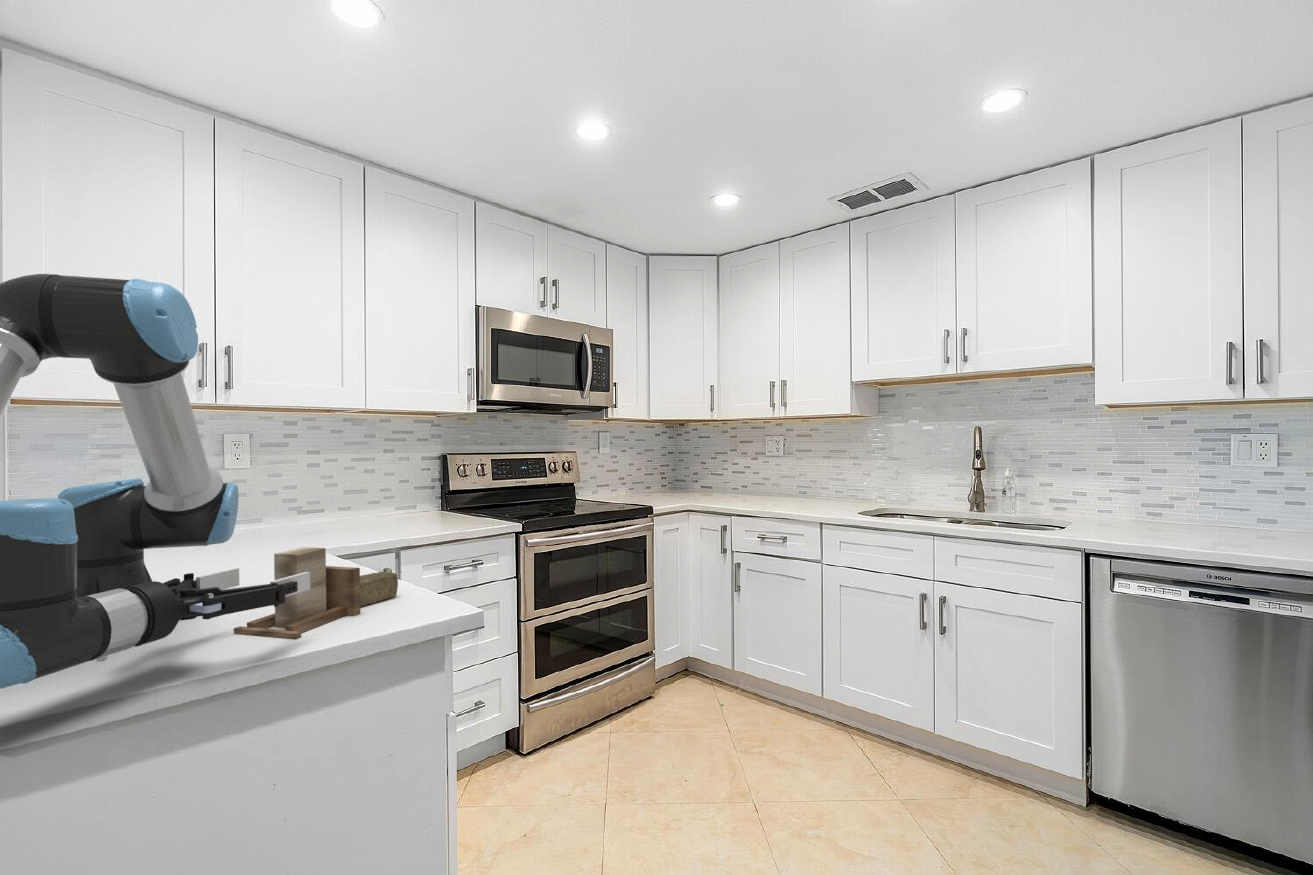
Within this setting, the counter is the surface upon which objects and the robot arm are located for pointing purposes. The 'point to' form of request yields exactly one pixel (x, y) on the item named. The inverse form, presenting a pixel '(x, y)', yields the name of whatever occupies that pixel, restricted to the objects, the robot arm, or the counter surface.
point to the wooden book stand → (338, 604)
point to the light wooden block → (308, 600)
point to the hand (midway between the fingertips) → (272, 578)
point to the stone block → (377, 587)
